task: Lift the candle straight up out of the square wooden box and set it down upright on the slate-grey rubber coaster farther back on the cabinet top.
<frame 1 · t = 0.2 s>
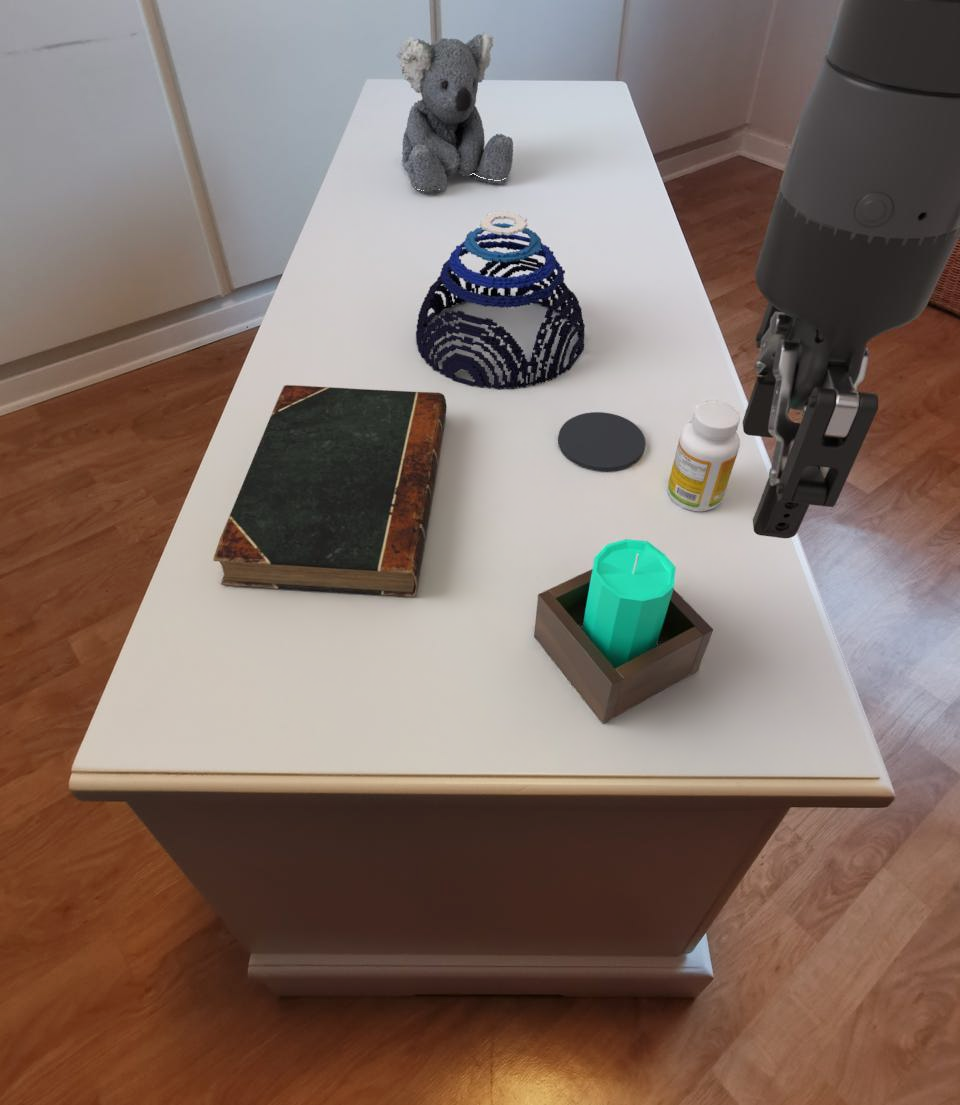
hand: (765, 479, 44), 22 cm above the table, tool pointing down, fingers open, 8 cm apart
supplement bottle: (694, 495, 76), on the table
square wooden box: (614, 653, 63), on the table
book: (346, 495, 76), on the table
candle: (614, 654, 63), resting in square wooden box
decorative bowl: (499, 340, 94), on the table
coaster: (601, 443, 81), on the table
koala plush: (448, 172, 128), on the table
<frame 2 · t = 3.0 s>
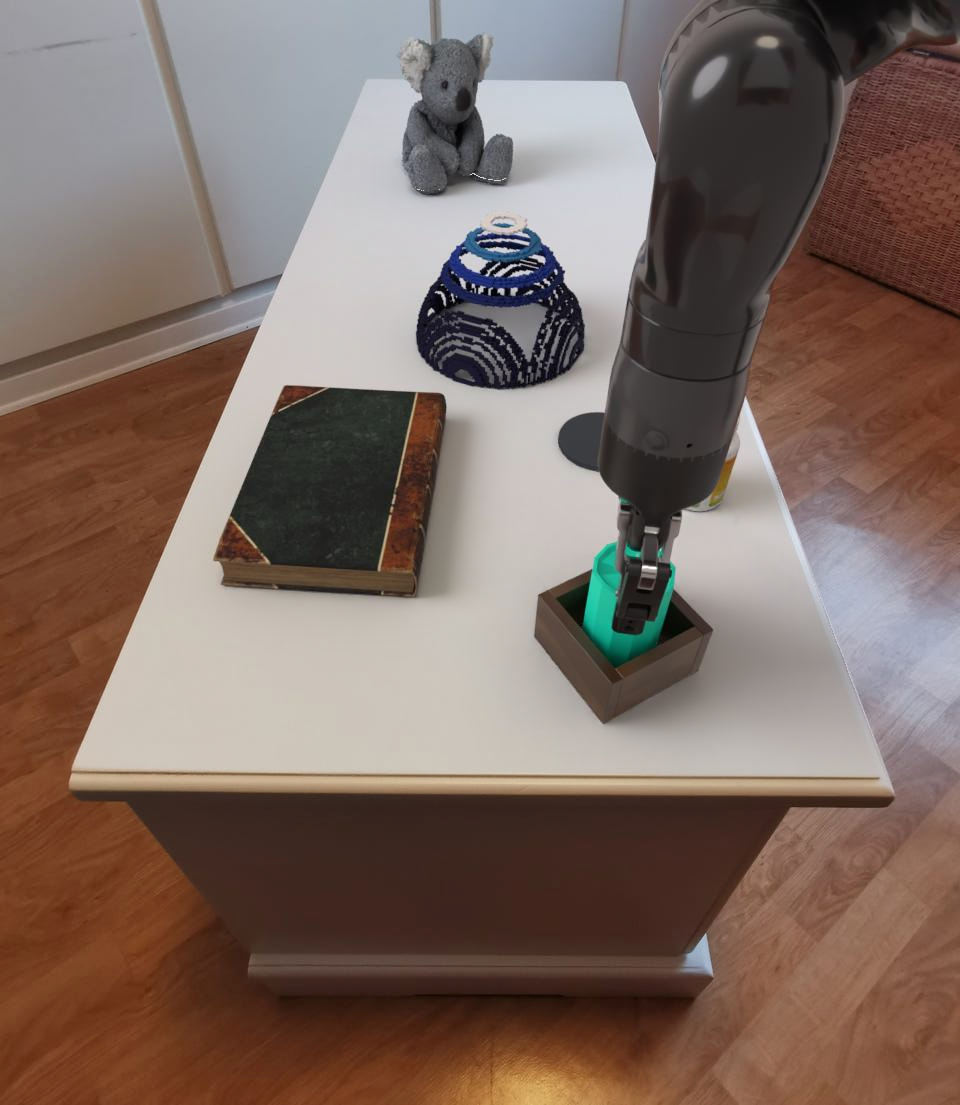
hand: (628, 594, 57), 8 cm above the table, tool pointing down, fingers closed on candle, 6 cm apart
candle: (614, 654, 63), resting in square wooden box, touching gripper
everything else where it was.
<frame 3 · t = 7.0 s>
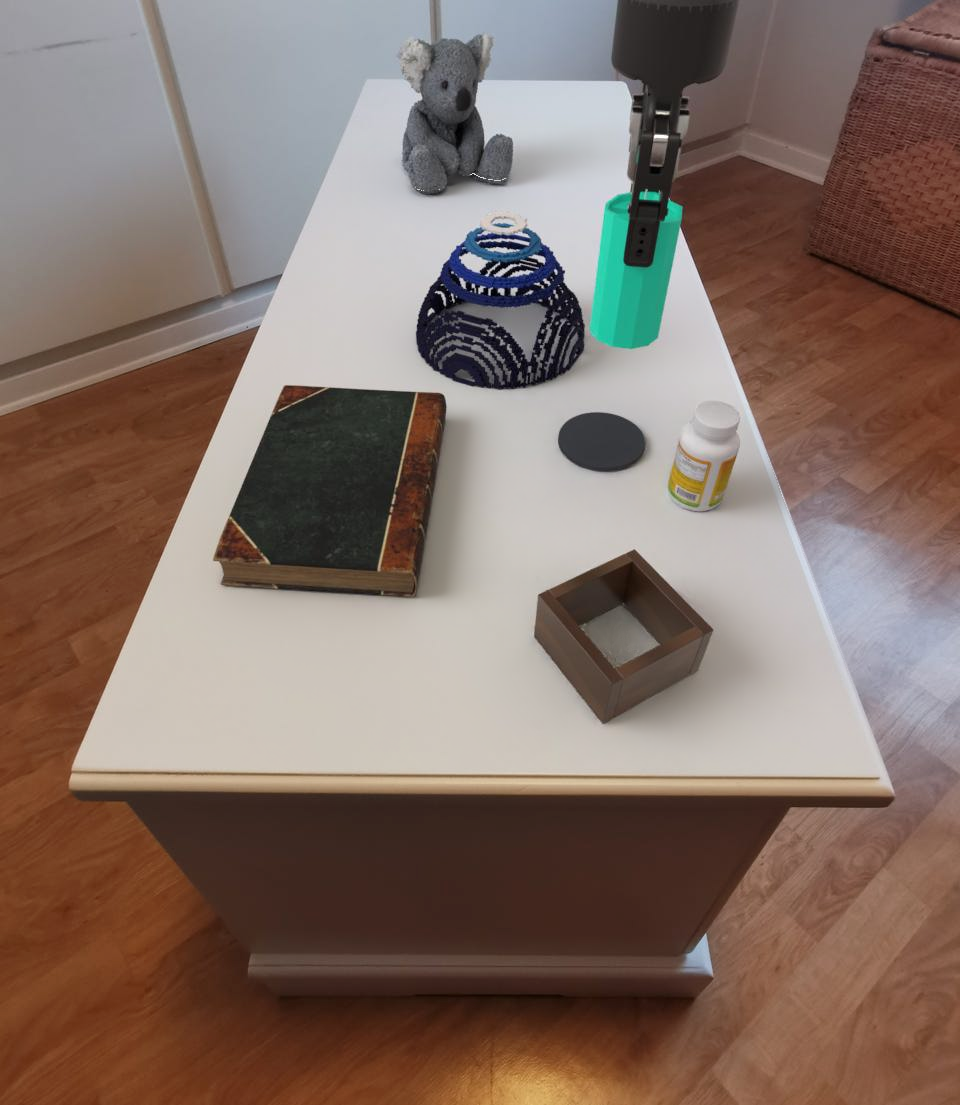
hand: (638, 243, 61), 23 cm above the table, tool pointing down, fingers closed on candle, 6 cm apart
candle: (623, 331, 66), point 16 cm above the table, touching gripper
everything else where it was.
when the fingers open (8 cm above the table, at t = 11.2 s): candle stays where it is, resting on coaster.
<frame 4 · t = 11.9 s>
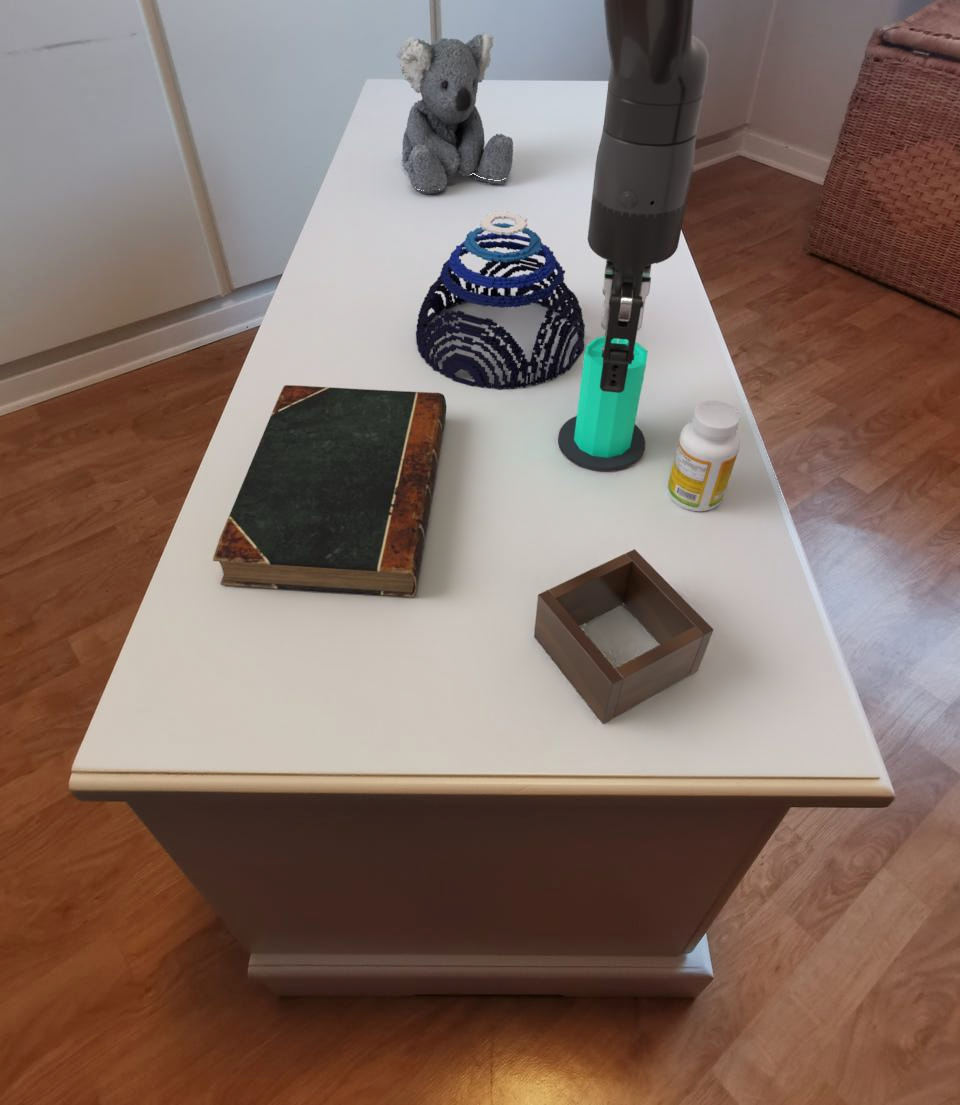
hand: (613, 363, 74), 10 cm above the table, tool pointing down, fingers open, 8 cm apart
candle: (602, 440, 80), resting on coaster
everything else where it was.
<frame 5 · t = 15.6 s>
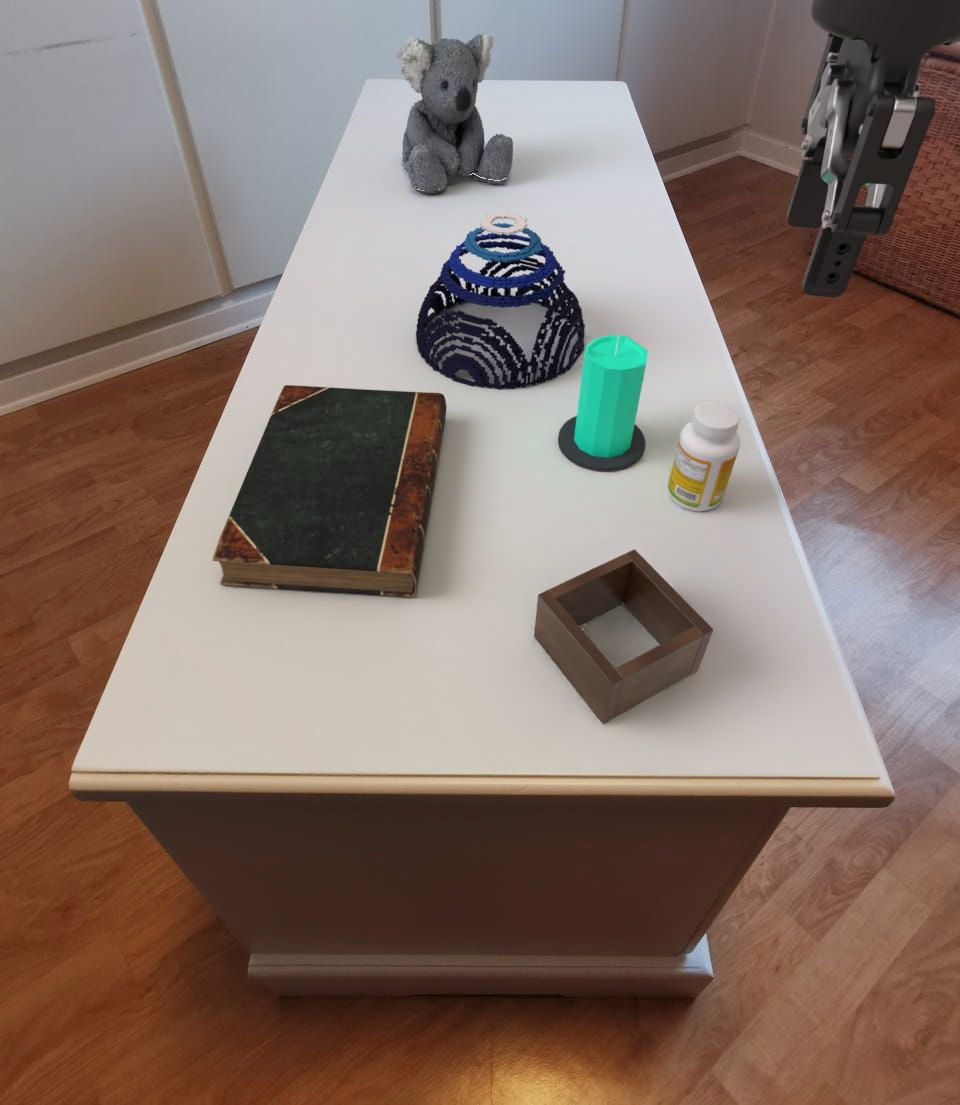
hand: (811, 256, 46), 30 cm above the table, tool pointing down, fingers open, 8 cm apart
nothing on the table moved.
at the end: candle 0.1 cm off-centre on the coaster, point 0.4 cm above the coaster's base; candle tilted 0°; candle moved 26.6 cm from its start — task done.
